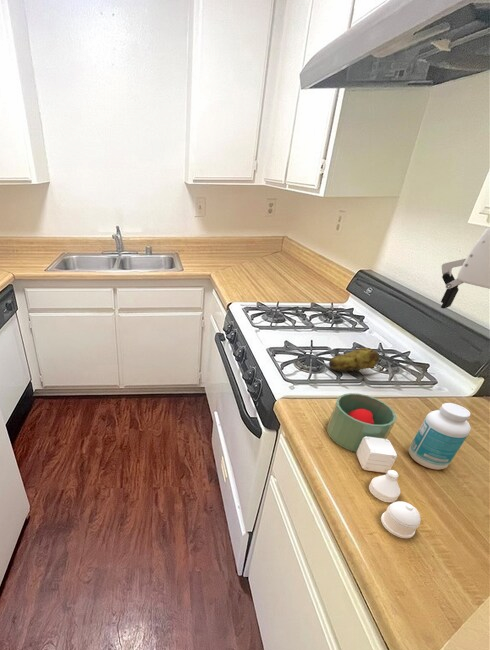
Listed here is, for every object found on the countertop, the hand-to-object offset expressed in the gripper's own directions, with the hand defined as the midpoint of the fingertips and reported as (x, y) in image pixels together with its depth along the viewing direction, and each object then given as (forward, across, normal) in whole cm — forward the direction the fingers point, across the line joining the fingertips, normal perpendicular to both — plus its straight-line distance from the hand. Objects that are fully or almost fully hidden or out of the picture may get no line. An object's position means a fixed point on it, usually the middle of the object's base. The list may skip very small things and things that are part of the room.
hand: (471, 314), depth 71 cm
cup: (+28, +5, +18) cm, 34 cm away
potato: (+28, +23, -9) cm, 38 cm away
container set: (+28, -8, +29) cm, 41 cm away
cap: (+28, +5, +18) cm, 33 cm away
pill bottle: (+28, -8, +11) cm, 32 cm away
